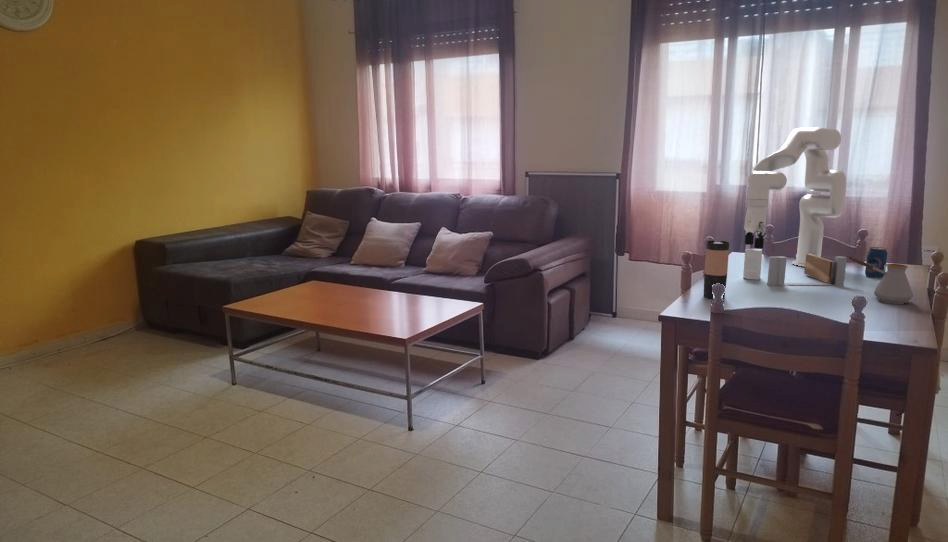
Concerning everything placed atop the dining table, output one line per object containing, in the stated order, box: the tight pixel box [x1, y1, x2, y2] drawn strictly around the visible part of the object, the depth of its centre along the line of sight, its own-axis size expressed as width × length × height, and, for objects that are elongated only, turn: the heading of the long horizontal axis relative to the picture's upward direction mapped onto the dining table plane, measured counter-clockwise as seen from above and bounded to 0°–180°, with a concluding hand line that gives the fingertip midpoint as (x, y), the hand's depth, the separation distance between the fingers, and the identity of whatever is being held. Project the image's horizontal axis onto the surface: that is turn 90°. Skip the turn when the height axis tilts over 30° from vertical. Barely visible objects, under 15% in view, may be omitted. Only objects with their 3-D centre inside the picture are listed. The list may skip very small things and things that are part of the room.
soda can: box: [864, 246, 888, 279], centre depth 263 cm, size 7×7×12 cm
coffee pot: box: [845, 256, 914, 305], centre depth 225 cm, size 21×12×15 cm, turn 68°
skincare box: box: [742, 247, 763, 280], centre depth 261 cm, size 6×4×12 cm
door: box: [803, 254, 836, 284], centre depth 258 cm, size 2×19×8 cm, turn 2°
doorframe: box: [766, 255, 848, 287], centre depth 249 cm, size 3×28×11 cm, turn 89°
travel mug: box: [703, 240, 730, 300], centre depth 230 cm, size 8×8×20 cm
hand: (753, 246), depth 259 cm, fingers open, 9 cm apart
